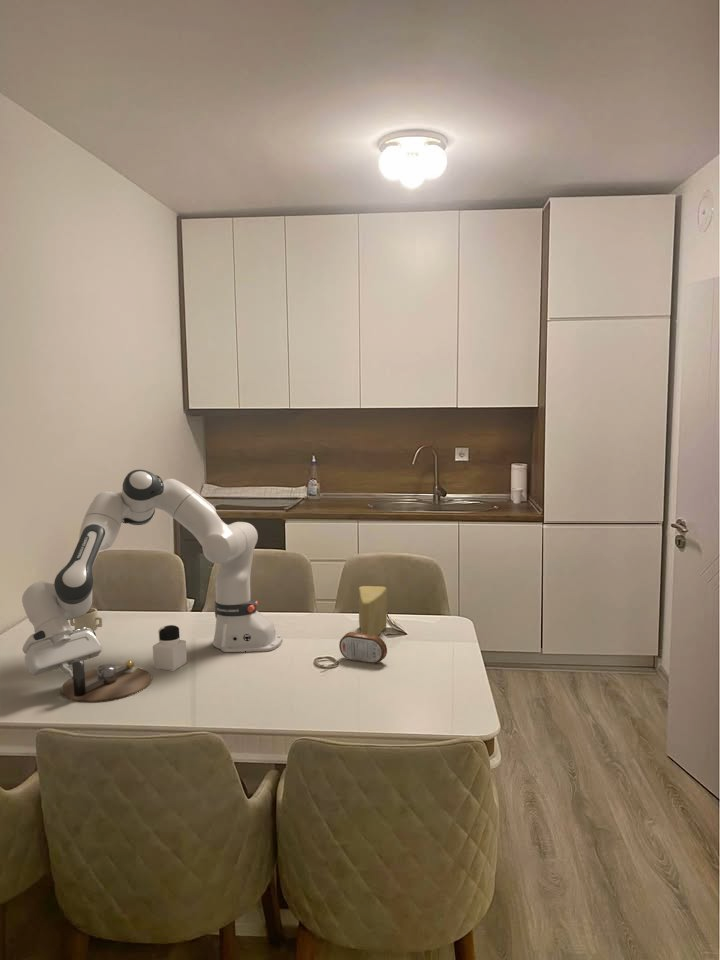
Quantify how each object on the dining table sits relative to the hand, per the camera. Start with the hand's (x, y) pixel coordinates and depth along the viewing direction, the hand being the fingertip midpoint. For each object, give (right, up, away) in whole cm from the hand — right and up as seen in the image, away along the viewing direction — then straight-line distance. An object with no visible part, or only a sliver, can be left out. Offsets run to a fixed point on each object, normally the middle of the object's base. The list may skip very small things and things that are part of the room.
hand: (75, 677), depth 203 cm
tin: (+78, -2, +23) cm, 81 cm away
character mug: (-10, -1, +37) cm, 38 cm away
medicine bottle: (+20, -3, +22) cm, 30 cm away
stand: (+6, -4, +8) cm, 11 cm away
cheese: (+80, +1, +45) cm, 92 cm away
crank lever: (+6, -3, +7) cm, 10 cm away
